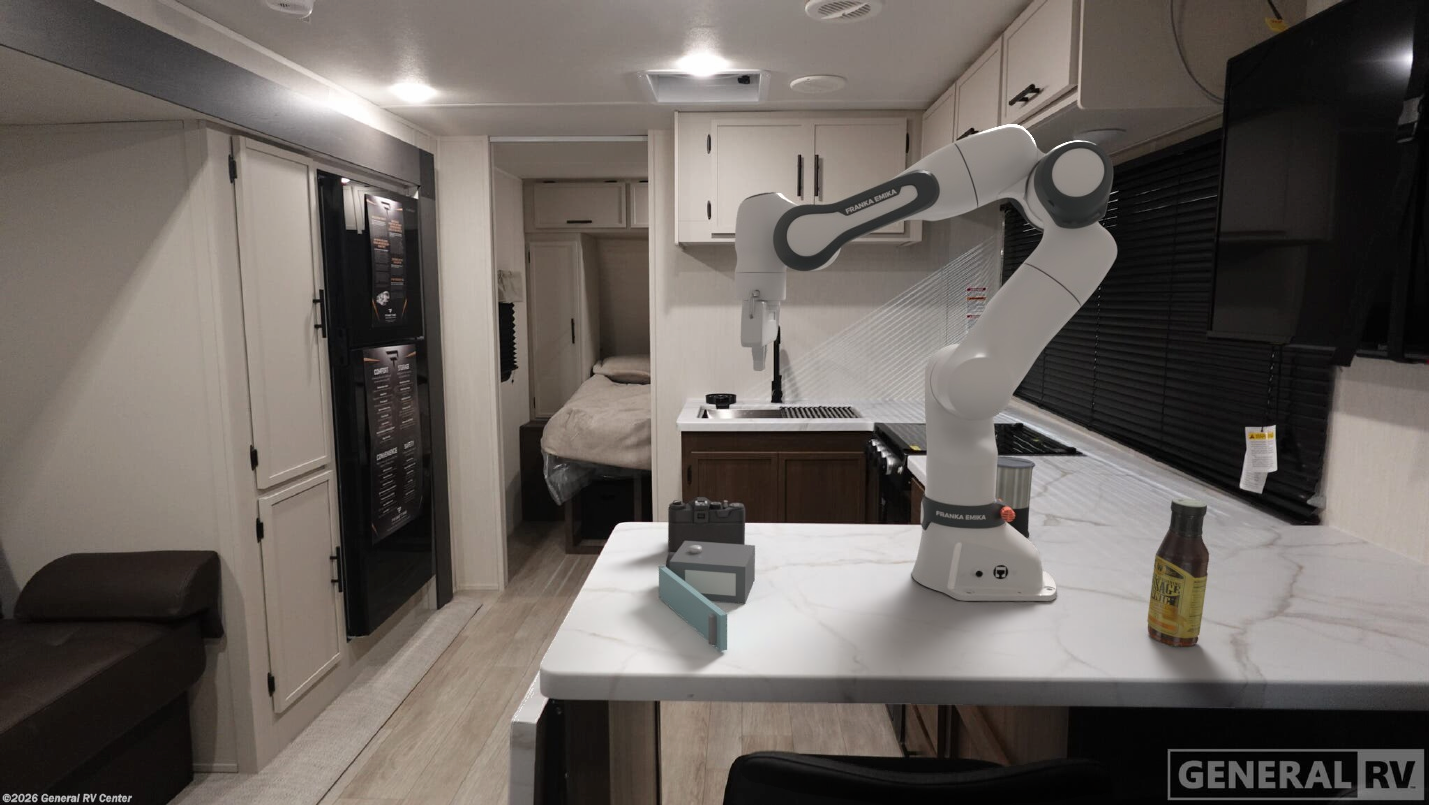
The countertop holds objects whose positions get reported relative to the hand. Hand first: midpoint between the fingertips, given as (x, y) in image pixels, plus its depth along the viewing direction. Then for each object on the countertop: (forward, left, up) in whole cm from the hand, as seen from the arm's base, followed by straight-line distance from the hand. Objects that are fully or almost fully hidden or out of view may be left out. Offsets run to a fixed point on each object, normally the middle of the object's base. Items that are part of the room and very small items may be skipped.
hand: (759, 370), depth 131 cm
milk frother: (-44, -20, -34) cm, 59 cm away
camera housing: (+5, +16, -34) cm, 38 cm away
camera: (+10, -4, -34) cm, 36 cm away
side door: (+6, +30, -34) cm, 45 cm away
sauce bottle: (-61, +21, -34) cm, 73 cm away
